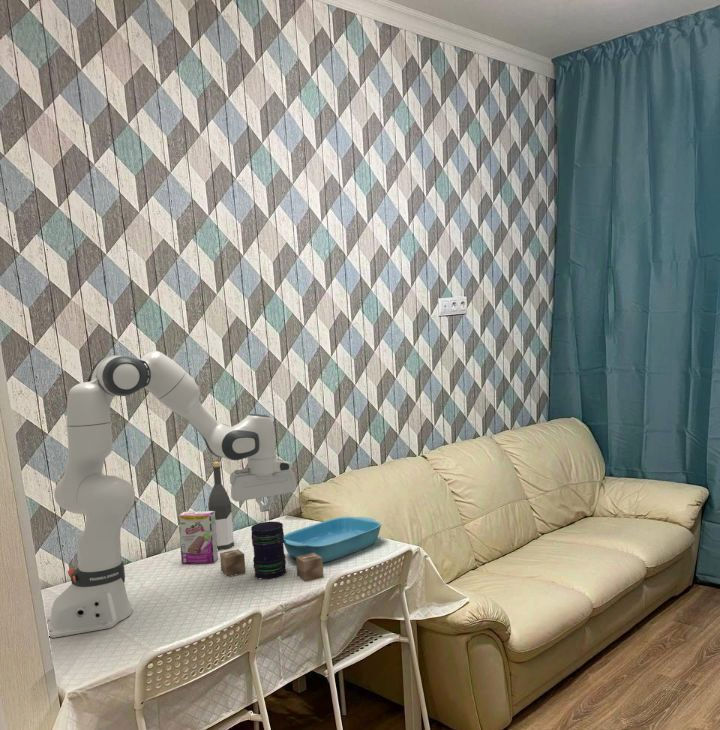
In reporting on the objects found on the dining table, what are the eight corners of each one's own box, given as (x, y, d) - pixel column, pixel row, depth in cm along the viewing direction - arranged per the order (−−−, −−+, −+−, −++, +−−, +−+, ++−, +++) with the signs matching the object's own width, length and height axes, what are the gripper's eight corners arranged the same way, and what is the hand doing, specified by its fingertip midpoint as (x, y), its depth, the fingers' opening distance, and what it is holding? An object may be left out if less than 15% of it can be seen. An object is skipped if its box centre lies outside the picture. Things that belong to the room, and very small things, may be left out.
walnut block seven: (226, 577, 216) (225, 557, 215) (221, 571, 221) (219, 552, 221) (245, 572, 219) (244, 553, 218) (239, 567, 224) (238, 548, 224)
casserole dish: (347, 530, 257) (346, 511, 257) (394, 540, 242) (393, 520, 241) (270, 559, 230) (268, 538, 230) (316, 572, 215) (315, 549, 215)
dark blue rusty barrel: (251, 580, 211) (247, 531, 211) (257, 569, 221) (253, 522, 220) (284, 578, 211) (280, 529, 210) (288, 567, 221) (285, 520, 220)
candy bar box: (181, 564, 230) (177, 515, 229) (186, 559, 235) (182, 511, 234) (214, 563, 229) (210, 514, 228) (218, 558, 234) (215, 510, 233)
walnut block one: (305, 581, 207) (303, 561, 207) (297, 576, 213) (295, 556, 212) (323, 577, 210) (322, 557, 210) (315, 571, 215) (313, 551, 215)
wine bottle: (214, 543, 251) (207, 460, 250) (236, 542, 251) (230, 459, 249) (208, 550, 243) (201, 465, 241) (231, 549, 243) (225, 464, 241)
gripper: (232, 472, 207) (235, 519, 207) (297, 463, 216) (299, 507, 217) (226, 469, 212) (229, 514, 213) (289, 460, 222) (292, 503, 222)
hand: (265, 511), depth 215 cm, fingers closed
